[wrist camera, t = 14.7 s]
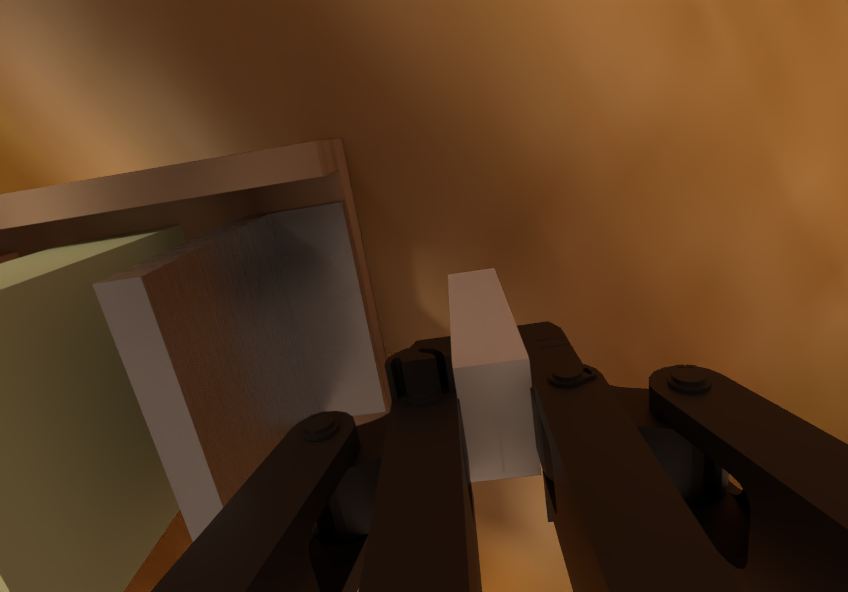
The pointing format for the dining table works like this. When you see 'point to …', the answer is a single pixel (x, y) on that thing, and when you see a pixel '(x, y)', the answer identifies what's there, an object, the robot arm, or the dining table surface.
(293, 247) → the bookend
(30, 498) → the olive book
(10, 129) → the dining table surface
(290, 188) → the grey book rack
